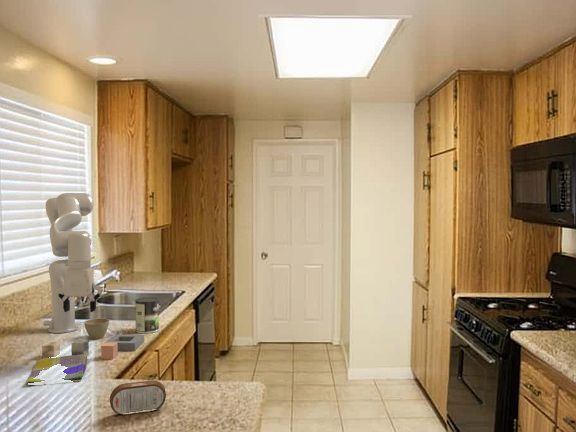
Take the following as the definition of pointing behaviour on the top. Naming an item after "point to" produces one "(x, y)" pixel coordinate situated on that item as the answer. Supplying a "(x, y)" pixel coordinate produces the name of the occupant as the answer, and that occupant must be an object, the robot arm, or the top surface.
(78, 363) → the dish towel
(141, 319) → the coffee can
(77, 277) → the robot arm
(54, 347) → the birch block
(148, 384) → the tin
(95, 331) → the flower pot
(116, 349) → the terracotta block
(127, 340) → the bearing plate
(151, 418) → the top surface
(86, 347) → the steel block
